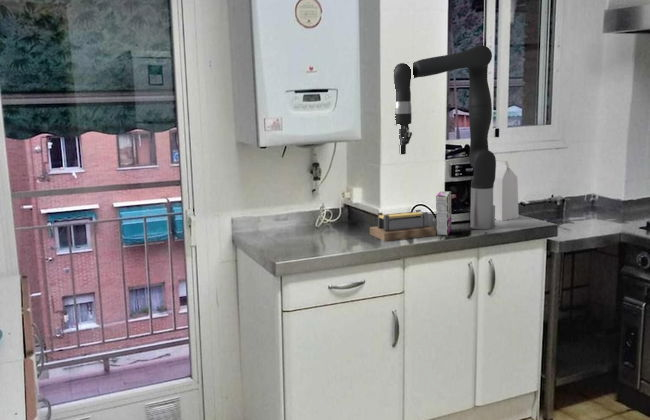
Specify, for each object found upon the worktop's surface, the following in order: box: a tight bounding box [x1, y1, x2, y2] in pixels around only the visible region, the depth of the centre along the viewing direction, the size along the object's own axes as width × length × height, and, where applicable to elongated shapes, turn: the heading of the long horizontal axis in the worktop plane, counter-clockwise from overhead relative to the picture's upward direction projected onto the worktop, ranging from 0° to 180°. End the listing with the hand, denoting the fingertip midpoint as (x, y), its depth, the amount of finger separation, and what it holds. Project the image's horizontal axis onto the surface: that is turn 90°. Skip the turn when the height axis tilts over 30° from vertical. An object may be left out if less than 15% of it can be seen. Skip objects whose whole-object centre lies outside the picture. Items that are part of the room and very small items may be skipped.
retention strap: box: [379, 210, 424, 219], centre depth 247 cm, size 19×4×2 cm, turn 110°
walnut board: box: [369, 224, 437, 242], centre depth 248 cm, size 23×14×3 cm, turn 110°
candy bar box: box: [435, 191, 452, 236], centre depth 249 cm, size 11×5×16 cm, turn 161°
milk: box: [493, 160, 520, 221], centre depth 276 cm, size 12×12×26 cm
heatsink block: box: [377, 209, 429, 231], centre depth 248 cm, size 19×8×6 cm, turn 110°
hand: (402, 154), depth 255 cm, fingers closed
